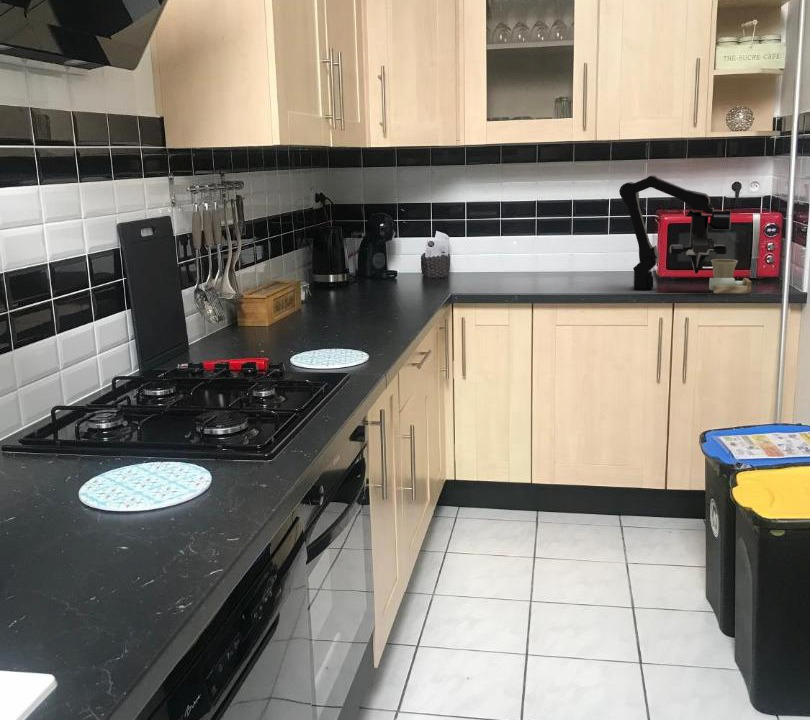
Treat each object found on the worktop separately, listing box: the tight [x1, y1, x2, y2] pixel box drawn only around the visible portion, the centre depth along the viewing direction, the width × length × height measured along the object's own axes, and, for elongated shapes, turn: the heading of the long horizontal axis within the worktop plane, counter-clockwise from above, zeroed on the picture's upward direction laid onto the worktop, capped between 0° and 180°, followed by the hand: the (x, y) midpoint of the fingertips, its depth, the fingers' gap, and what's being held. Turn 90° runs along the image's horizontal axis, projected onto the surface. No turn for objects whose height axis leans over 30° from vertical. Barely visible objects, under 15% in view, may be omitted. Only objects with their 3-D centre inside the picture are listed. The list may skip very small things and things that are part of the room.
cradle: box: [711, 277, 752, 294], centre depth 298 cm, size 12×9×4 cm
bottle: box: [708, 277, 745, 291], centre depth 298 cm, size 4×4×12 cm
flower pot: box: [710, 258, 738, 278], centre depth 313 cm, size 9×9×9 cm
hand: (696, 273), depth 299 cm, fingers closed
